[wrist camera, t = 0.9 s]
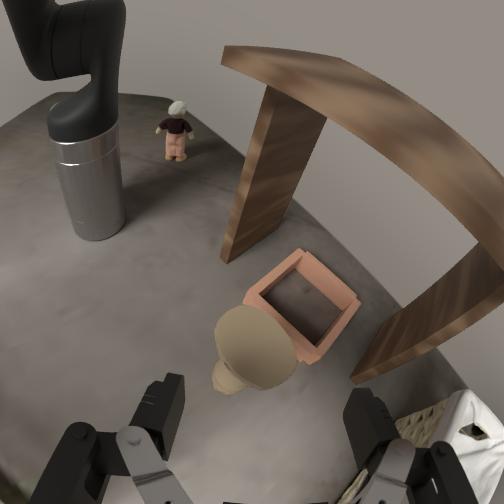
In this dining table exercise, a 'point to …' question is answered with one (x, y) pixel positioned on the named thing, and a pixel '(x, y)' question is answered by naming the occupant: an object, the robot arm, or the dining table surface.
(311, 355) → the socket
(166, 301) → the dining table surface
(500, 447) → the storage basket
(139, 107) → the dining table surface
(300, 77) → the wooden footstool
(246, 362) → the handle
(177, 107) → the grandmother figurine
